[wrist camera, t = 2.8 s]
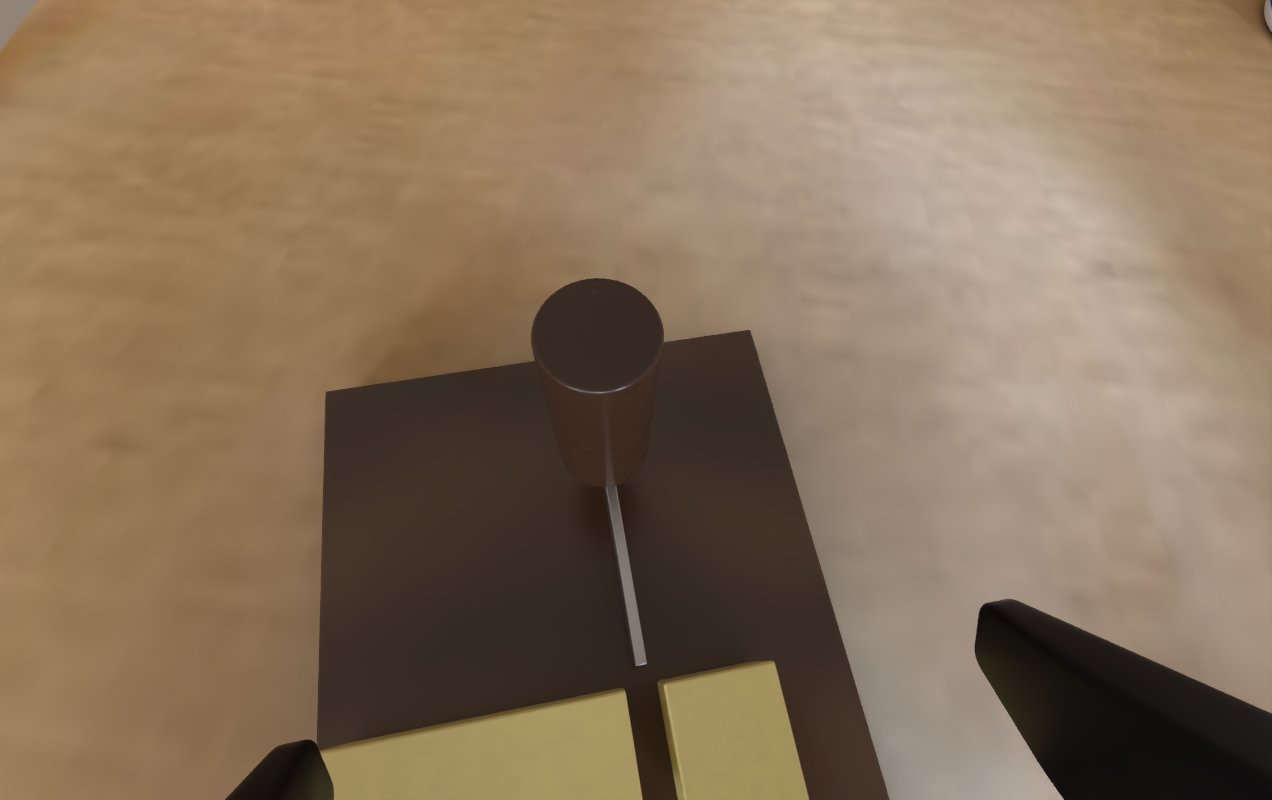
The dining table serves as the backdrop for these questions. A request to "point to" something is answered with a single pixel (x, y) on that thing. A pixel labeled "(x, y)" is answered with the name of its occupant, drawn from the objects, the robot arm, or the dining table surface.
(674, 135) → the dining table surface
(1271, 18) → the beverage bottle
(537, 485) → the board
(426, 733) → the butter
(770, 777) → the butter pat
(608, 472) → the brown mallet
